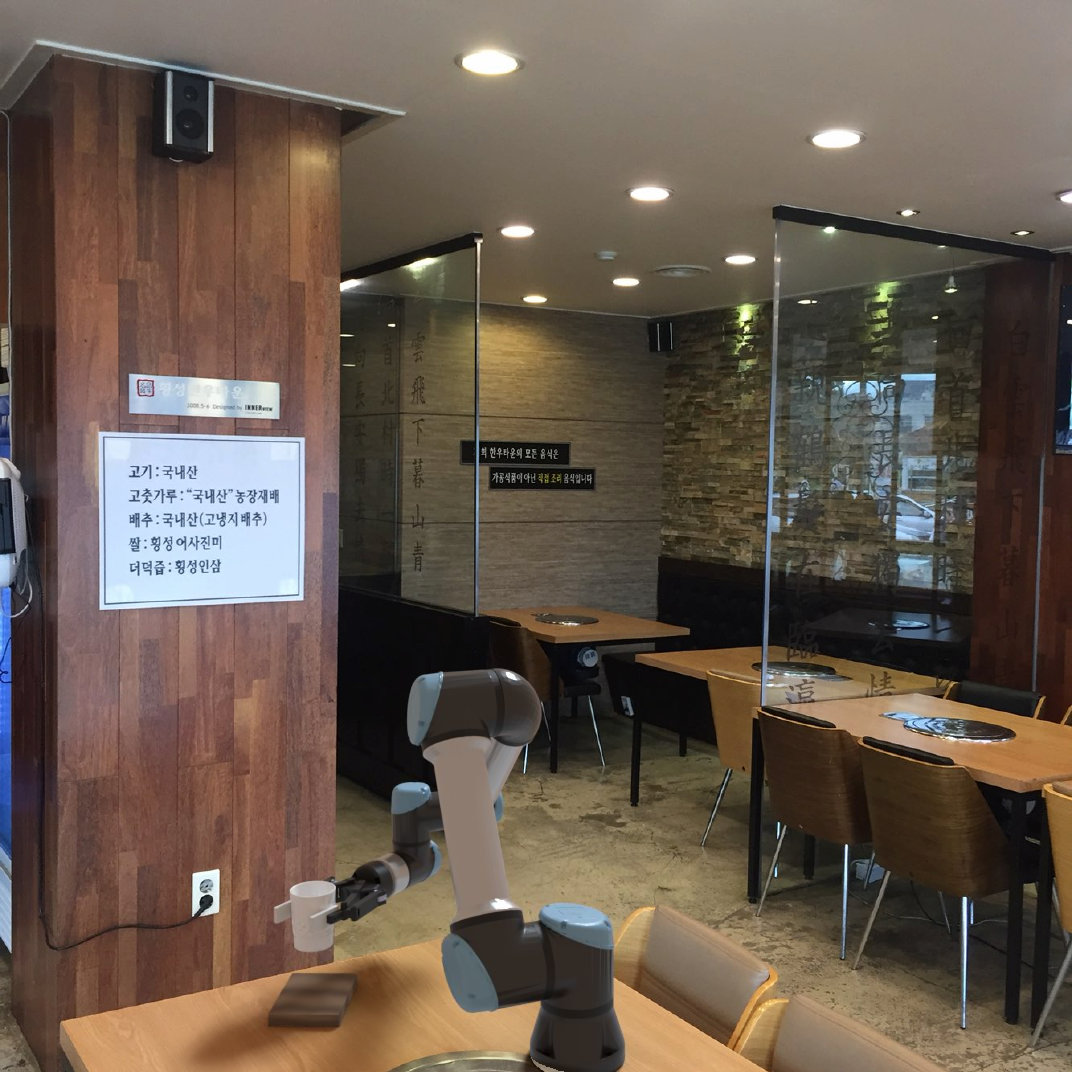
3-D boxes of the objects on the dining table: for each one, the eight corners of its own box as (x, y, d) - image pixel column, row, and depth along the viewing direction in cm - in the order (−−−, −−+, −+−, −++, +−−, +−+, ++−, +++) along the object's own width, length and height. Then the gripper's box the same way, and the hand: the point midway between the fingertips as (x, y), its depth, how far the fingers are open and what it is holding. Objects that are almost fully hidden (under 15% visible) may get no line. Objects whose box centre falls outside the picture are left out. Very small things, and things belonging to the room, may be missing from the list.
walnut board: (339, 1026, 184) (338, 1014, 184) (268, 1026, 185) (268, 1014, 185) (357, 984, 200) (357, 973, 200) (292, 983, 201) (292, 973, 201)
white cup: (326, 955, 188) (325, 898, 187) (283, 952, 189) (282, 895, 189) (343, 937, 195) (342, 882, 195) (301, 934, 197) (300, 879, 196)
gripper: (422, 909, 202) (338, 954, 183) (338, 889, 213) (250, 929, 193) (422, 869, 202) (337, 910, 182) (338, 850, 212) (250, 887, 193)
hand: (293, 920), depth 188 cm, fingers closed on white cup, 8 cm apart
